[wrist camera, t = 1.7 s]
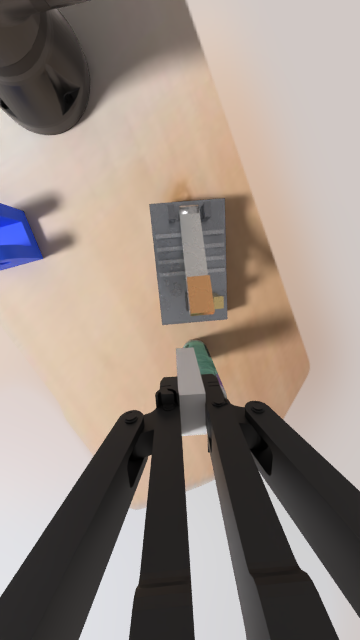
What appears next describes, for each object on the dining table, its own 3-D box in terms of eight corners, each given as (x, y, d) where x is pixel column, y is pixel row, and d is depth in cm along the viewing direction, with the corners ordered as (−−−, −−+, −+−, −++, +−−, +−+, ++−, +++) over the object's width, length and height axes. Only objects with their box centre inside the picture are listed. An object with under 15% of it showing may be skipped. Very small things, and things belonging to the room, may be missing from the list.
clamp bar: (178, 212, 33) (178, 198, 31) (197, 210, 33) (199, 197, 31) (189, 319, 29) (190, 313, 26) (211, 317, 29) (214, 311, 26)
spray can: (180, 361, 46) (187, 432, 27) (183, 338, 45) (192, 395, 25) (205, 363, 46) (229, 434, 27) (208, 340, 45) (236, 398, 26)
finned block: (152, 211, 38) (146, 196, 30) (218, 206, 38) (231, 190, 30) (163, 318, 43) (161, 331, 35) (221, 312, 44) (233, 325, 35)
